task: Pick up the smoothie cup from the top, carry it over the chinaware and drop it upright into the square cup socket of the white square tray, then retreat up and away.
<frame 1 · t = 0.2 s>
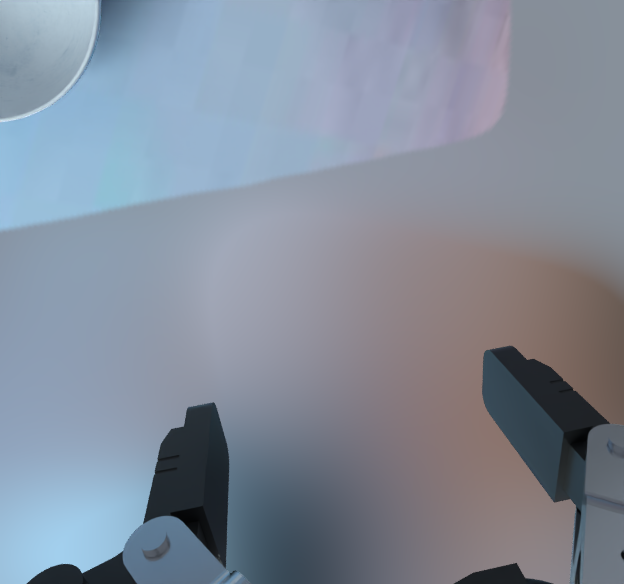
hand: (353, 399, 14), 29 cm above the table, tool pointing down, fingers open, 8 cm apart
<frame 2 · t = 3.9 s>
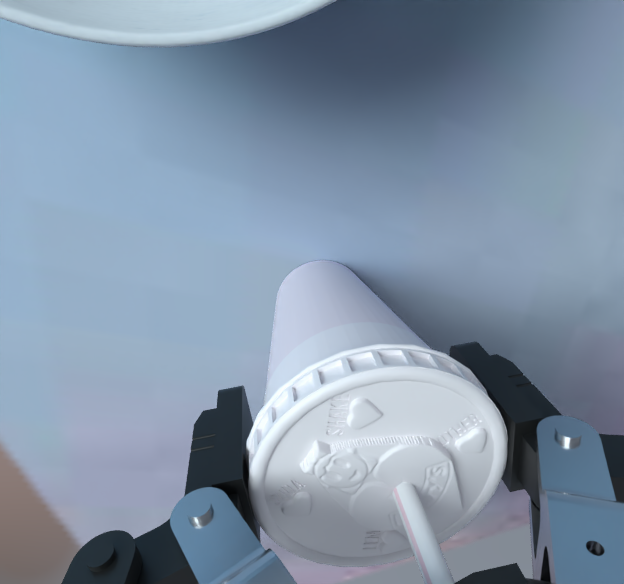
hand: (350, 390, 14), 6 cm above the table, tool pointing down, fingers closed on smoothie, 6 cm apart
smoothie: (319, 298, 20), on the table, touching gripper
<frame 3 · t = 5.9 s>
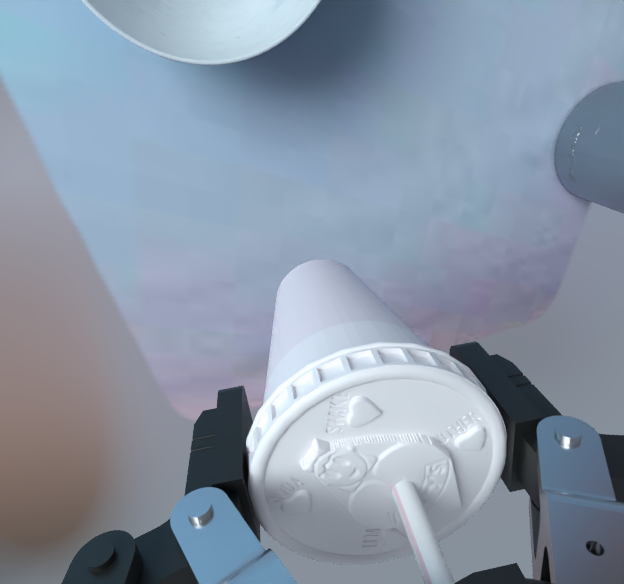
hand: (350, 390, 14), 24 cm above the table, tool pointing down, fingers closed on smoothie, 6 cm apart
smoothie: (318, 298, 20), point 18 cm above the table, touching gripper
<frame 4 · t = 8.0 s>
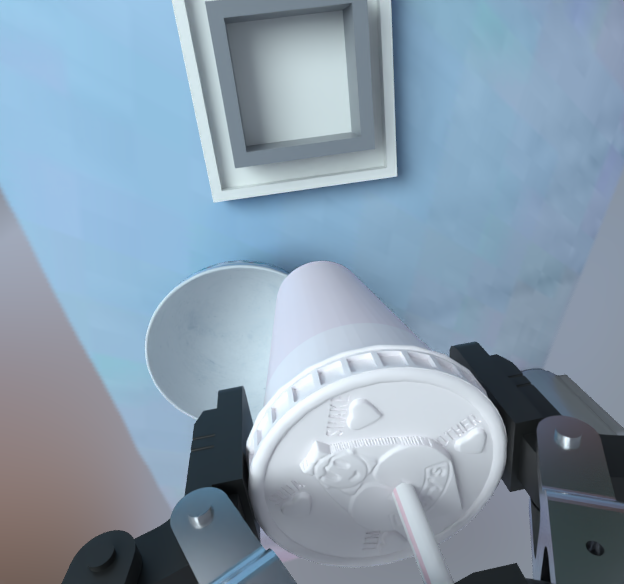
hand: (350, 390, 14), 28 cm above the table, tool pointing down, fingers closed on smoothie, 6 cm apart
smoothie: (319, 299, 20), point 22 cm above the table, touching gripper
white square tray: (291, 81, 36), on the table
chinaware: (244, 309, 44), on the table
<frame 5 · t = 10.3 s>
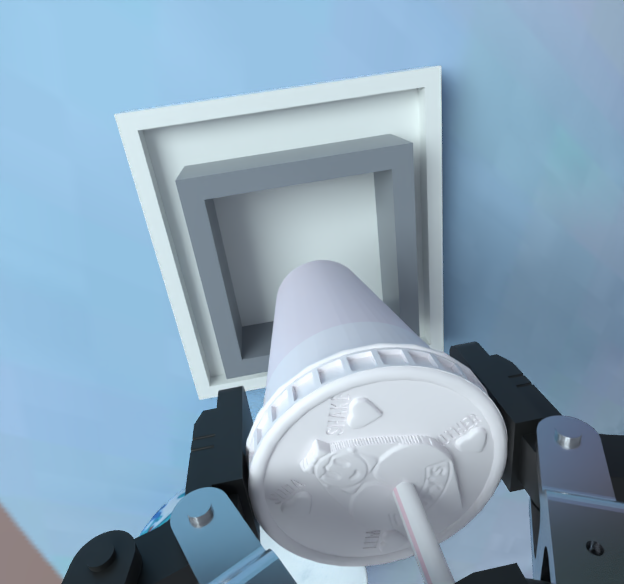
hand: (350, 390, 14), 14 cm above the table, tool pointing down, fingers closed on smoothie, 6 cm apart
smoothie: (319, 298, 20), point 8 cm above the table, touching gripper
white square tray: (300, 240, 26), on the table
chinaware: (243, 494, 35), on the table
when the fingers open (9 cm above the table, at t = 12.4 s): smoothie drops 1 cm, resting on white square tray.
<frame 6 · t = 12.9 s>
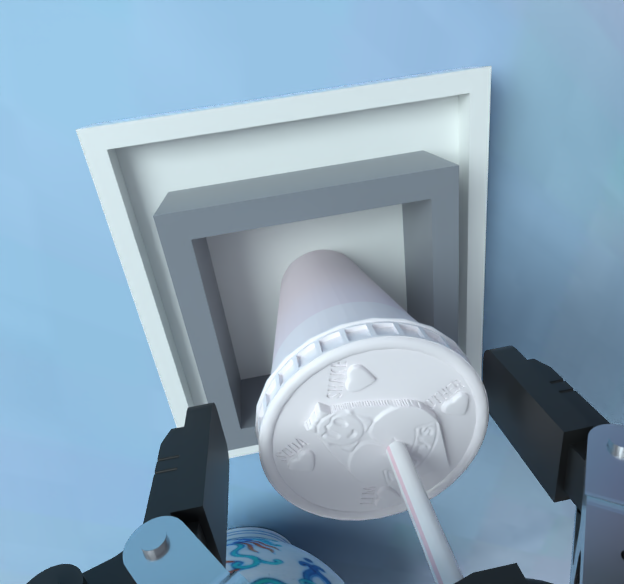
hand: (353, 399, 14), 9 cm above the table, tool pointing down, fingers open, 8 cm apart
smoothie: (320, 286, 21), point 1 cm above the table, touching white square tray
white square tray: (311, 276, 22), on the table
chinaware: (243, 559, 30), on the table
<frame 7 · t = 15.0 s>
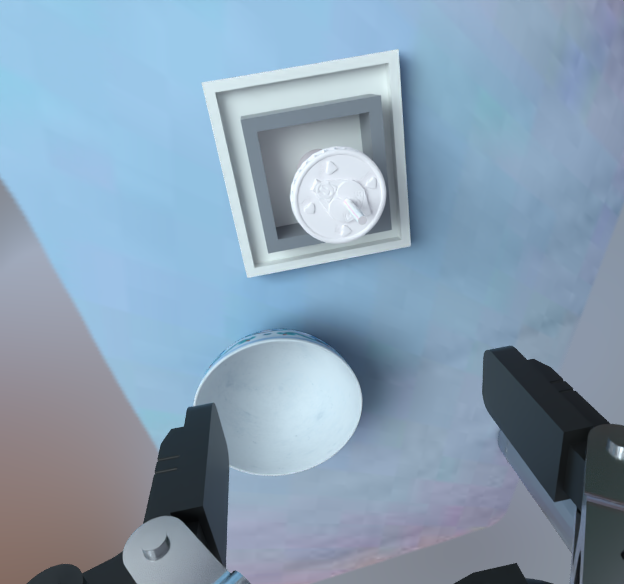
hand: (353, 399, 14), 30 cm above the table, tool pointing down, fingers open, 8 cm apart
smoothie: (318, 170, 39), point 1 cm above the table, touching white square tray
white square tray: (313, 168, 40), on the table
chinaware: (274, 363, 48), on the table
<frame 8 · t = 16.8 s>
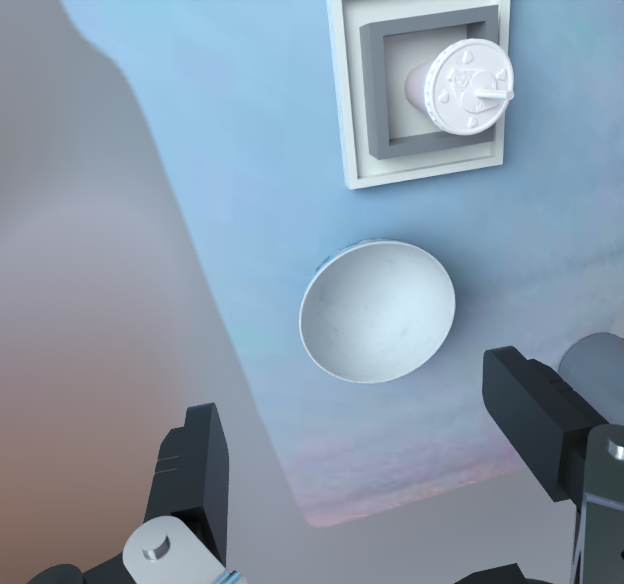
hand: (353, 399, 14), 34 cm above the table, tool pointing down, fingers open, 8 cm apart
smoothie: (423, 86, 42), point 1 cm above the table, touching white square tray
white square tray: (416, 85, 43), on the table
chinaware: (359, 283, 51), on the table
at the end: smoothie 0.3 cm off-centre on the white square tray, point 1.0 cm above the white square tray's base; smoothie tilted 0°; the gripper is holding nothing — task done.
